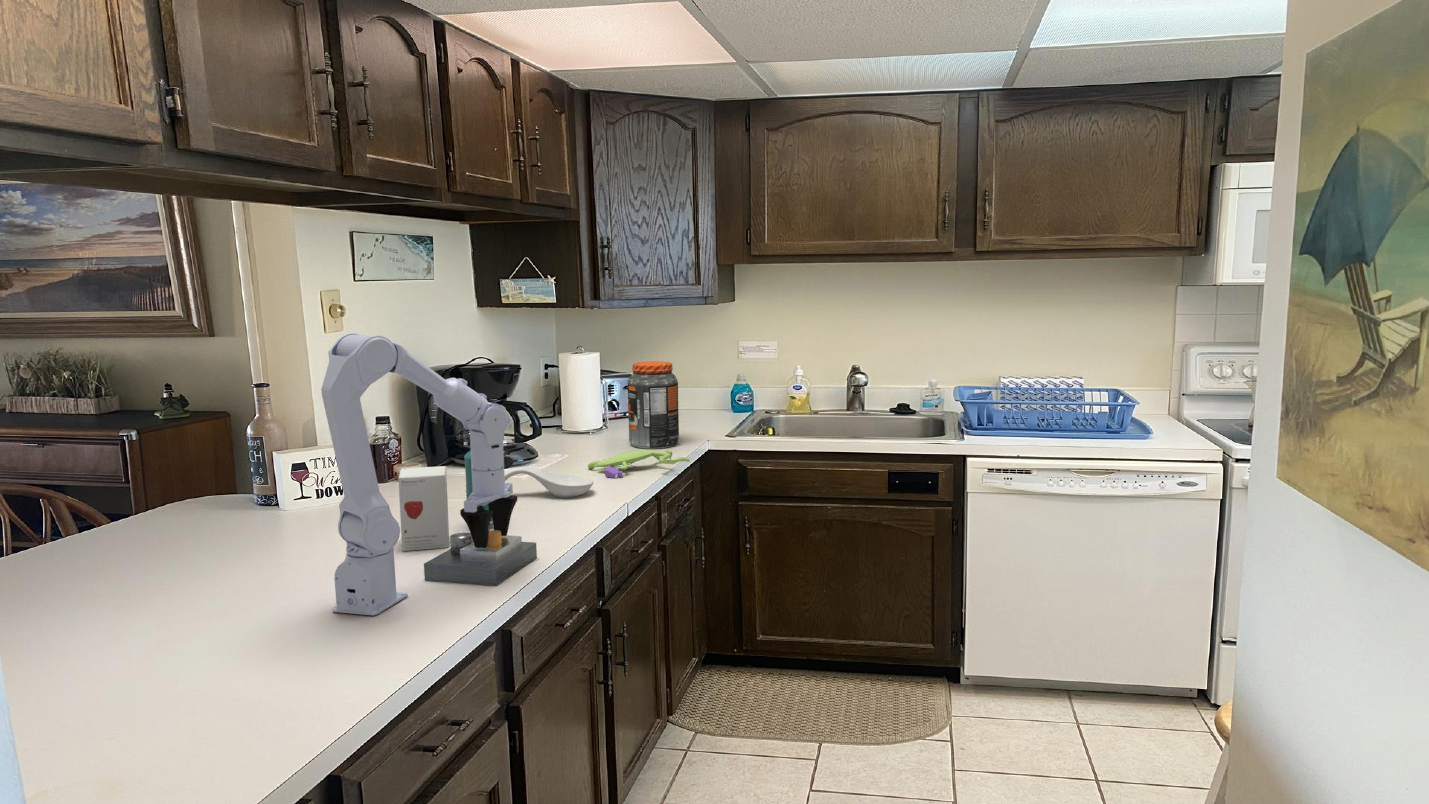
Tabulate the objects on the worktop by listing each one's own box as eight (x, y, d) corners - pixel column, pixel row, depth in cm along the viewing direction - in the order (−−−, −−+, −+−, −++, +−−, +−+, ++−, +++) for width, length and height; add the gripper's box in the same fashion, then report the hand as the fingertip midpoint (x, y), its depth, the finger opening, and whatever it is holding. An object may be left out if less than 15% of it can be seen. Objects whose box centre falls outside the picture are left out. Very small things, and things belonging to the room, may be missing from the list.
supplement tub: (631, 440, 295) (629, 360, 291) (680, 440, 295) (678, 360, 291) (626, 450, 279) (624, 365, 275) (677, 449, 279) (676, 365, 275)
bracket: (496, 563, 161) (495, 552, 160) (460, 560, 162) (460, 549, 162) (521, 546, 170) (521, 536, 170) (487, 544, 172) (487, 534, 172)
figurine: (692, 476, 243) (691, 456, 242) (591, 482, 238) (590, 461, 237) (680, 462, 261) (680, 443, 260) (587, 467, 256) (586, 448, 255)
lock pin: (496, 572, 165) (495, 535, 164) (482, 571, 166) (480, 533, 165) (505, 567, 167) (504, 530, 166) (491, 566, 168) (490, 529, 167)
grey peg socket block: (496, 585, 158) (495, 552, 157) (424, 580, 161) (422, 547, 160) (536, 557, 173) (535, 527, 172) (470, 553, 176) (468, 523, 176)
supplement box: (401, 552, 178) (396, 477, 176) (403, 539, 186) (399, 467, 184) (449, 548, 180) (445, 473, 178) (450, 535, 189) (446, 464, 187)
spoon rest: (594, 489, 230) (593, 461, 229) (593, 500, 218) (592, 470, 217) (498, 492, 227) (497, 464, 226) (492, 504, 216) (491, 474, 215)
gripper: (488, 477, 156) (492, 554, 158) (526, 460, 170) (529, 531, 172) (451, 475, 158) (455, 551, 160) (491, 459, 172) (495, 529, 174)
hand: (491, 541), depth 166 cm, fingers open, 7 cm apart
